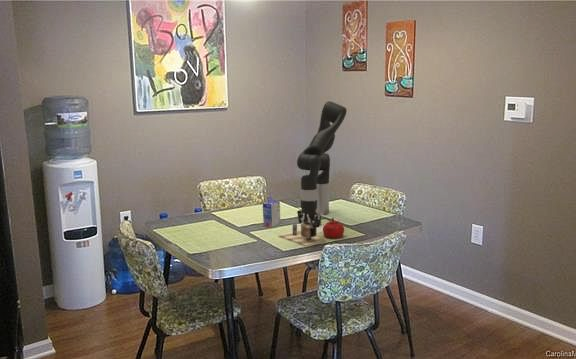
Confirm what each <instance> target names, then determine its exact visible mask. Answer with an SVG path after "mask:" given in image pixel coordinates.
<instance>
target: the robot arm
mask: <svg viewBox="0 0 576 359" xmlns="http://www.w3.org/2000/svg"><path fill="white" fill-rule="evenodd" d="M346 115H347V108H346V107H345V106H343V105H341V104H338V103H336V102H334V101H331V100H330V101H329V100H328V101H326V102H324V105H323V106H322V110H321V114H320V121H319V126H318V129H317V133H316V134H314V136H313V138H312V140H311V141H310V144H309V145H308V146H307V147H306V148H305V149H304V150H303V151H302V152H301V153H300V154H299V156H298V157H297V160H296V165H297V168H298V169H299V170H301V171H309V173H308V174H305V175H302V176H301V178H300V210H297V211H296V213H297V218H298V224H301V223H304V222H308V221H309V224H310V225H311V236H315V235H316V228H317V227H319V225H320V220H321V221H322V216H326V215H329V214H330V168H331V157H330V155H329V153H327V152H328V151H329V150H330V149H331V148H332V147H333V144H334V142H335V138H336V134H335V133H336V132H337V131H338V129H339V128H340V126H341V125H342V124H343V122H344V121H345V118H346ZM320 171H321V173H319V172H320ZM316 212H318V213H322V215H317V214H316ZM312 220H313V221H312ZM313 224H314V226H313Z"/></svg>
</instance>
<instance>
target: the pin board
mask: <svg viewBox="0 0 576 359" xmlns="http://www.w3.org/2000/svg"><path fill="white" fill-rule="evenodd" d="M297 226H298V225H297V223H292V231H287V232H284V233H280V234H277V235H278V238H280V239H281V238H282V239H283V240H287V241H290V242H292V243H295V244H297V245H300V246H304V247H306V248H307V247H310V246H314V245H317V244H321V243H325V242H327V239H325V238H322V237H320V236H318V235H317V236H315V237H311V238H306V237H303V236H301V230H299V229H297Z"/></svg>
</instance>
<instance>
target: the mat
mask: <svg viewBox="0 0 576 359" xmlns="http://www.w3.org/2000/svg"><path fill="white" fill-rule="evenodd" d="M324 226H325V224H321V225H319V227H317V234H320V233H323V227H324ZM297 230H299V231H301V224H299V225H297Z"/></svg>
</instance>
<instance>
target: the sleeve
mask: <svg viewBox="0 0 576 359" xmlns="http://www.w3.org/2000/svg"><path fill="white" fill-rule="evenodd" d="M300 225H301V230H300V231H301V236H303V237H306V238H311V237H315V236H317V237H318V235H317V234H318V233H317V228H316V235H315V236H311V225H310V224H309V221H308V222H304V223H300ZM313 226H314V224H313Z"/></svg>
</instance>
